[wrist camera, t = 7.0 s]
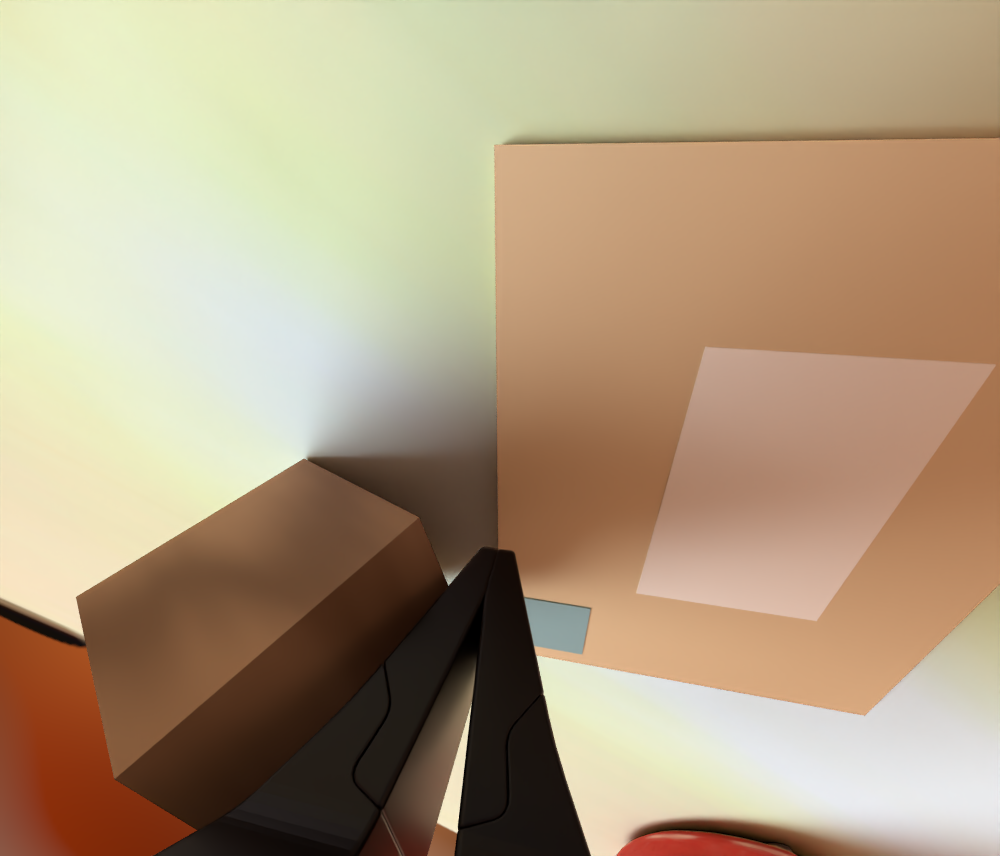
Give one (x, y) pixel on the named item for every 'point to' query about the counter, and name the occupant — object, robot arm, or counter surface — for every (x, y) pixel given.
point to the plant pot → (700, 845)
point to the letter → (750, 405)
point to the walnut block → (250, 635)
